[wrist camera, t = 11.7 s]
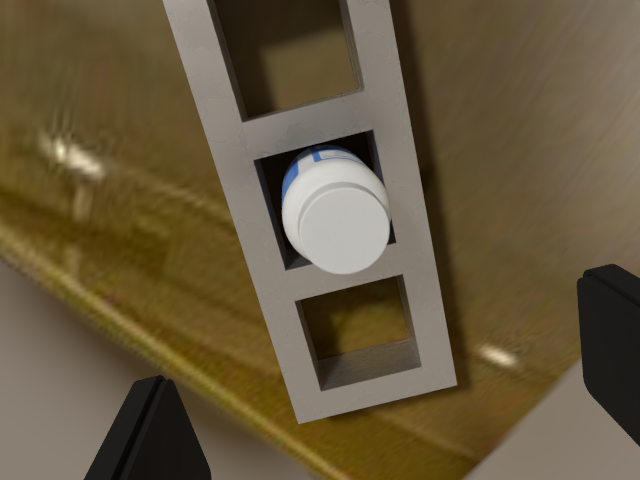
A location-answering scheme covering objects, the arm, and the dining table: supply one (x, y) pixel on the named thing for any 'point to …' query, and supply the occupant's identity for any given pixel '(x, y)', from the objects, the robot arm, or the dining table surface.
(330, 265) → the pill bottle
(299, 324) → the hollow concrete block
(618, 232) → the dining table surface
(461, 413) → the dining table surface
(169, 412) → the robot arm
